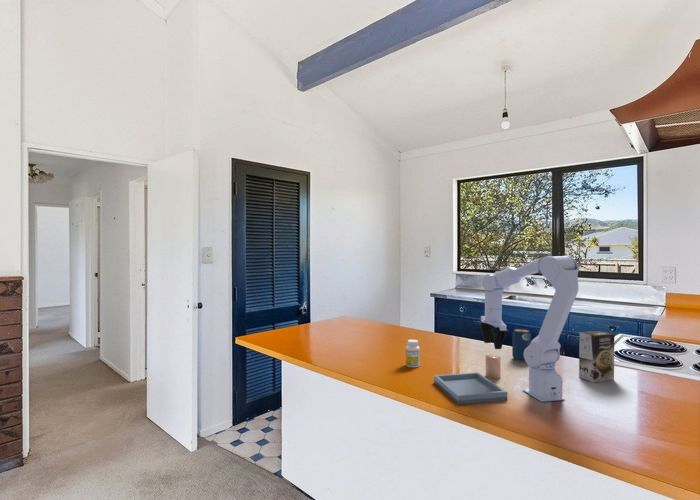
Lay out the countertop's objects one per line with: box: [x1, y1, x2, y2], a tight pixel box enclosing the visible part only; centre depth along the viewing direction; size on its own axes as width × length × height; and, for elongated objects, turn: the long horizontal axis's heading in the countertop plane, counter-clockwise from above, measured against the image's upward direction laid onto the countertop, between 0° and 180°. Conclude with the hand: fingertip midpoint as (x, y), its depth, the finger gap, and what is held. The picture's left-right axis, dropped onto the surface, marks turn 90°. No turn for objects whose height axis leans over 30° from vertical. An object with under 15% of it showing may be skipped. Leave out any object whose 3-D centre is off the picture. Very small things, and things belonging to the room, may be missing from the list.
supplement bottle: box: [405, 339, 421, 368], centre depth 150 cm, size 5×5×10 cm
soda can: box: [511, 328, 532, 363], centre depth 157 cm, size 7×7×12 cm
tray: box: [433, 371, 508, 405], centre depth 124 cm, size 18×16×2 cm
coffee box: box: [578, 330, 615, 384], centre depth 135 cm, size 9×6×16 cm
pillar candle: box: [485, 354, 502, 380], centre depth 138 cm, size 5×5×7 cm
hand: (492, 345), depth 138 cm, fingers open, 7 cm apart
